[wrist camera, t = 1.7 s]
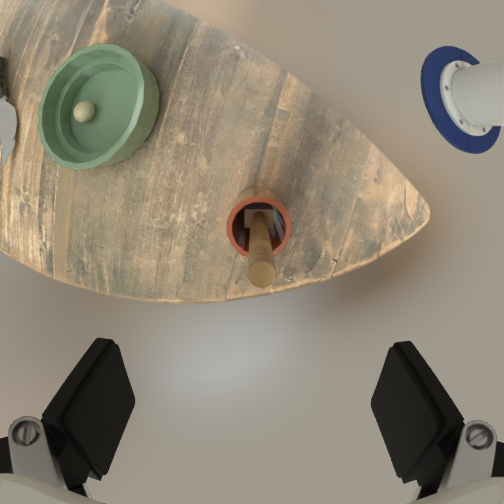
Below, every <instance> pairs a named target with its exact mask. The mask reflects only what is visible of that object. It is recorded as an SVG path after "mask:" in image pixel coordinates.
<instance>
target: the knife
mask: <svg viewBox="0 0 504 504" xmlns="http://www.w3.org/2000/svg"><path fill="white" fill-rule="evenodd" d="M3 63H4V58H3V57H0V124H1V143H3V147H2V163H3V167H4V165H5V164H6V162H7V159H8V157H9V155H10V153H11V151H12V150H13V148H14V146H15V139H14V137H15V133H16V127H17V118H16V112H15V108H14V107H13V106H12V105H11V104H9V103H8V102H7V100H8V96H7V89H4V88H3Z"/></svg>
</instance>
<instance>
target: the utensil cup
mask: <svg viewBox="0 0 504 504" xmlns="http://www.w3.org/2000/svg"><path fill="white" fill-rule="evenodd" d="M253 202H266V203H268V204H270V205H272V208H273V228H268V230H269V235H270V241H271V246H272V252H273V256H275V255H277V254H278V253H279V252H280V251H281V250H283V249H284V248H285V246H286V245H287V243H288V241H289V239H290V237H291V227H292V223H291V220H290V217H289V214H288V212H287V210H286V208H285V207H284V205H283V204H282V202H281V200H280V199H279V197H278V196H277V195H276V194H275V193H274V192H273V191H272V190H270V189H268V188H266V187H262V186H254V187H250V188H248V189H246V190H244V191H243V192H242V193H241V194H240V195H239V196H238V197H237V199H236V202H235V204H234V206H233V208H232V211H231V213H230V215H229V218H228V220H227V236H228V238H229V240H230V243H231V245H232V246H233V247H234V248H235V249H236V250H237V251H238V252H239V253H240V254H241V255H243V256H246V257H248V255H249V240H250V228H244V208H245V205H248V204H250V203H253Z"/></svg>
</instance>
